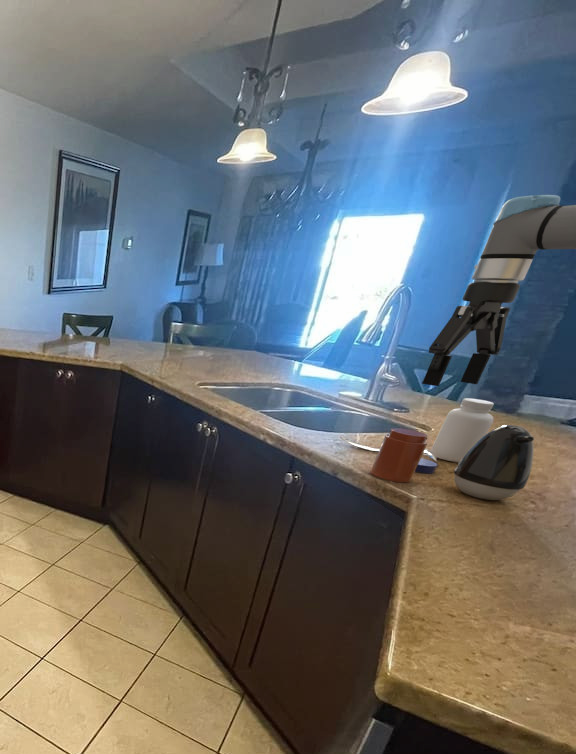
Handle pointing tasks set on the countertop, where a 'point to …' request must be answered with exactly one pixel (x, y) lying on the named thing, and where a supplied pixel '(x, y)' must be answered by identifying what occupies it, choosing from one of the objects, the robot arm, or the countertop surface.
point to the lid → (426, 466)
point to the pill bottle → (463, 429)
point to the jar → (399, 455)
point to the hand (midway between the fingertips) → (449, 384)
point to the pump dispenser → (496, 464)
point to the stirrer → (426, 451)
